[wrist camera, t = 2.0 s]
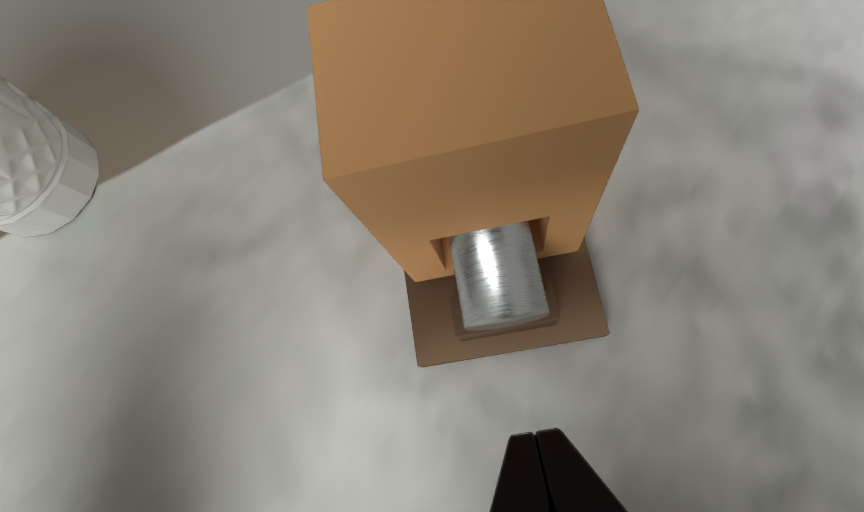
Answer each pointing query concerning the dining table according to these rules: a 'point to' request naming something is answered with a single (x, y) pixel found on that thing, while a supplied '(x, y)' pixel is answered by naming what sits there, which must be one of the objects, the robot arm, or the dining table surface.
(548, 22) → the tan block
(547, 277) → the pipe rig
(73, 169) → the white cup
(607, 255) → the dining table surface
